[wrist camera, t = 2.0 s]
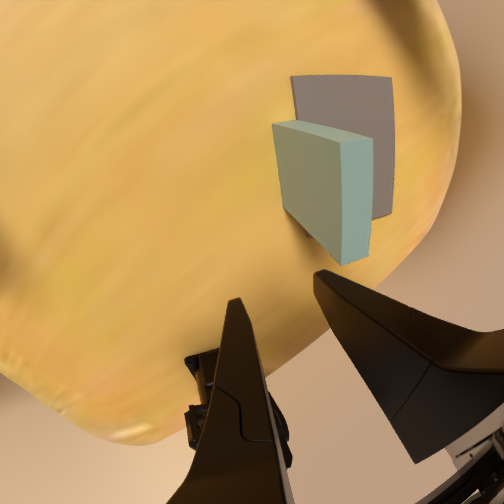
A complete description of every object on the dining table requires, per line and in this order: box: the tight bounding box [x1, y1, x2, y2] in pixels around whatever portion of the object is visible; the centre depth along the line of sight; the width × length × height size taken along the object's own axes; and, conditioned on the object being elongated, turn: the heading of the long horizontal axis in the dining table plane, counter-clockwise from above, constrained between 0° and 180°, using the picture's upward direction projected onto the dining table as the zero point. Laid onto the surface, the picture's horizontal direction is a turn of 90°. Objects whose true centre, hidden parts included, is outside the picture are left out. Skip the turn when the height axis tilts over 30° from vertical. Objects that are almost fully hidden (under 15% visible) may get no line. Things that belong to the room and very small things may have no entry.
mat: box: [290, 75, 395, 238], centre depth 21 cm, size 14×10×1 cm
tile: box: [272, 120, 373, 266], centre depth 17 cm, size 7×2×9 cm, turn 9°
